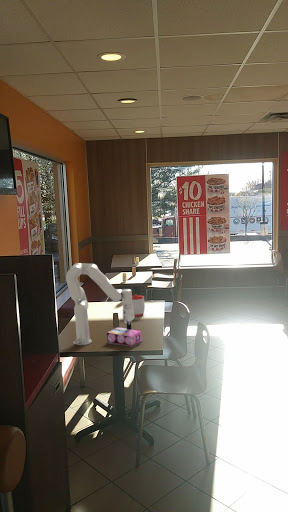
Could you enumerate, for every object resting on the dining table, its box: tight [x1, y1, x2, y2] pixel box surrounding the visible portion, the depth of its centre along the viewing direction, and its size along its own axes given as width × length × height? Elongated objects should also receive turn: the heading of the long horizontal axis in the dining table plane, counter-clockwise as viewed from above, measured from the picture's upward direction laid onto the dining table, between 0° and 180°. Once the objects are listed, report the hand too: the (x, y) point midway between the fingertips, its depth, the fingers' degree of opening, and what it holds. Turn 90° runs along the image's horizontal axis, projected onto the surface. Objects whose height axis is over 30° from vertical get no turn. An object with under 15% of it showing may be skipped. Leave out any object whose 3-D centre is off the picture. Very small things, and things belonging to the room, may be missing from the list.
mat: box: [107, 339, 145, 348], centre depth 323 cm, size 15×23×1 cm, turn 61°
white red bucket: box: [132, 293, 146, 318], centre depth 394 cm, size 16×17×20 cm
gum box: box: [106, 326, 143, 347], centre depth 322 cm, size 24×8×14 cm
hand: (129, 329), depth 327 cm, fingers closed
